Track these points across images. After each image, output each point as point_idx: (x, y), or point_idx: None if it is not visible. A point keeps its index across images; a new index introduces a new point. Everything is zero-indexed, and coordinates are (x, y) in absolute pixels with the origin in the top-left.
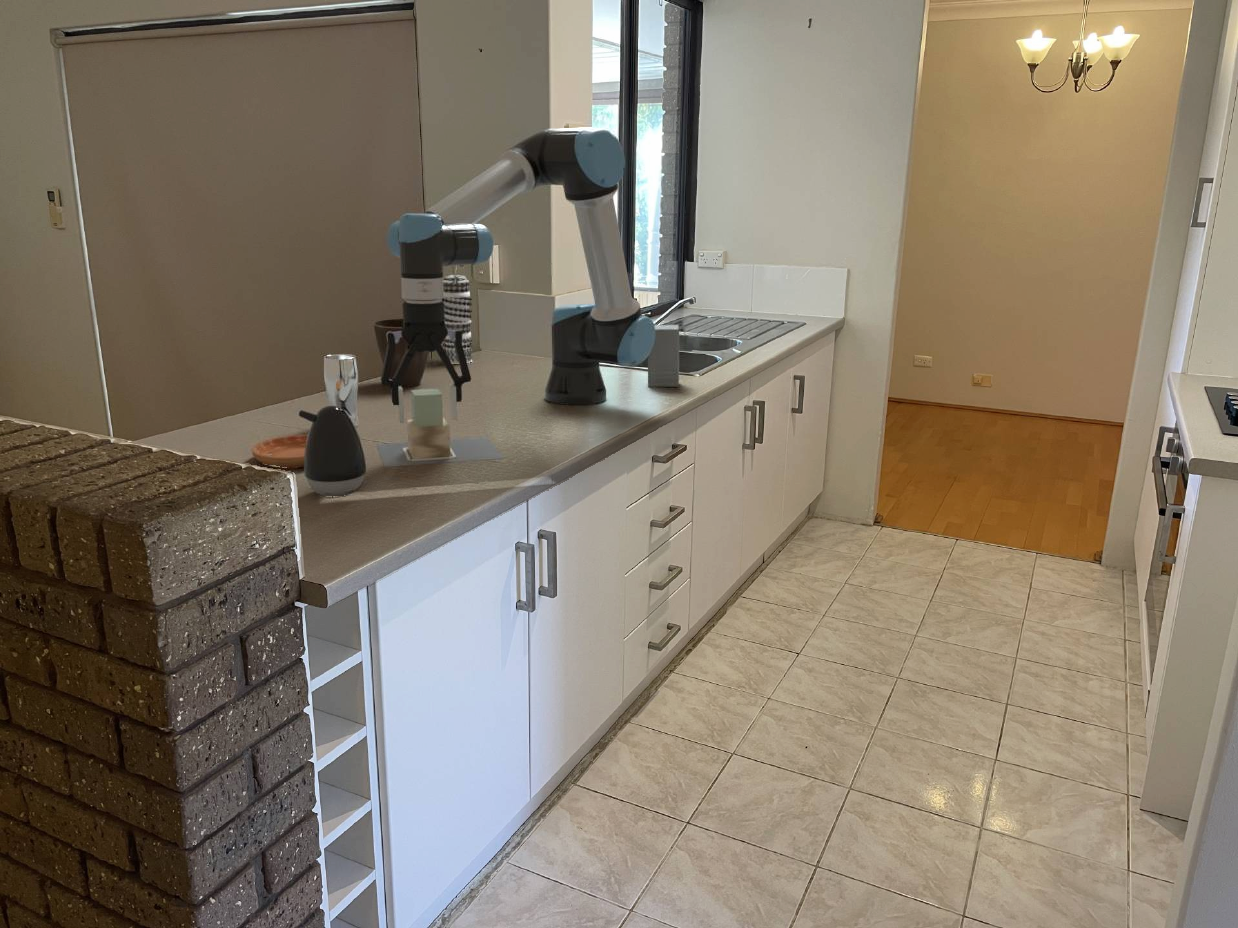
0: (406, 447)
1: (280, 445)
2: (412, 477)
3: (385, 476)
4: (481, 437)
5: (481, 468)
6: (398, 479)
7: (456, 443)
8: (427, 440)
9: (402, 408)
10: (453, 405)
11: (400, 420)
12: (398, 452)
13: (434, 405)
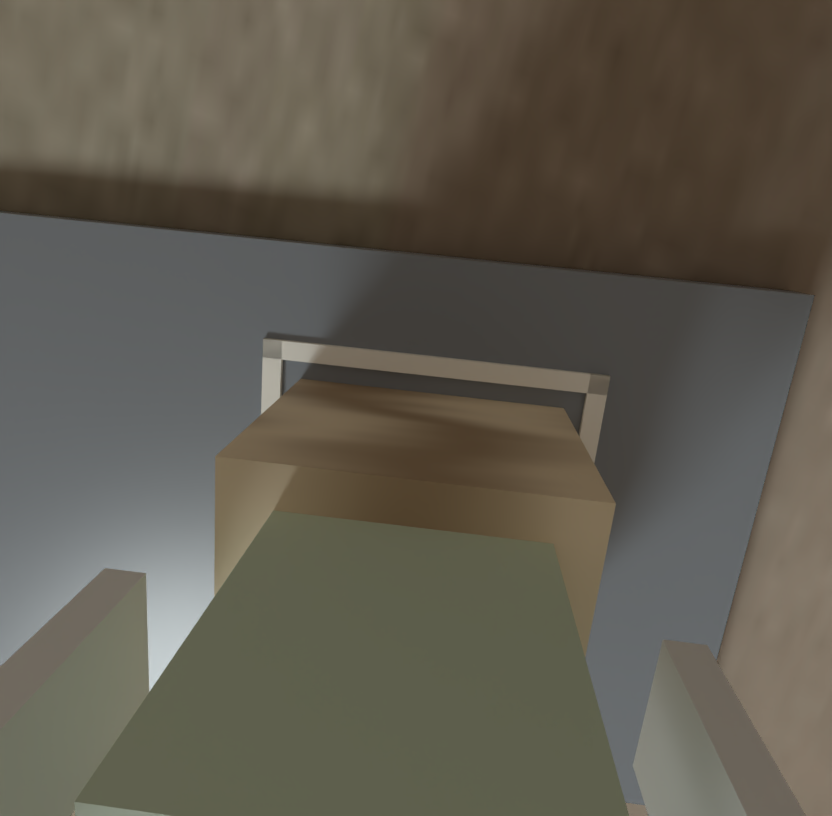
0: None
1: None
2: (644, 121)
3: (812, 217)
4: None
5: (138, 168)
6: (753, 106)
7: None
8: (454, 438)
9: (744, 780)
10: (28, 682)
11: (714, 667)
12: (606, 599)
13: (296, 666)
